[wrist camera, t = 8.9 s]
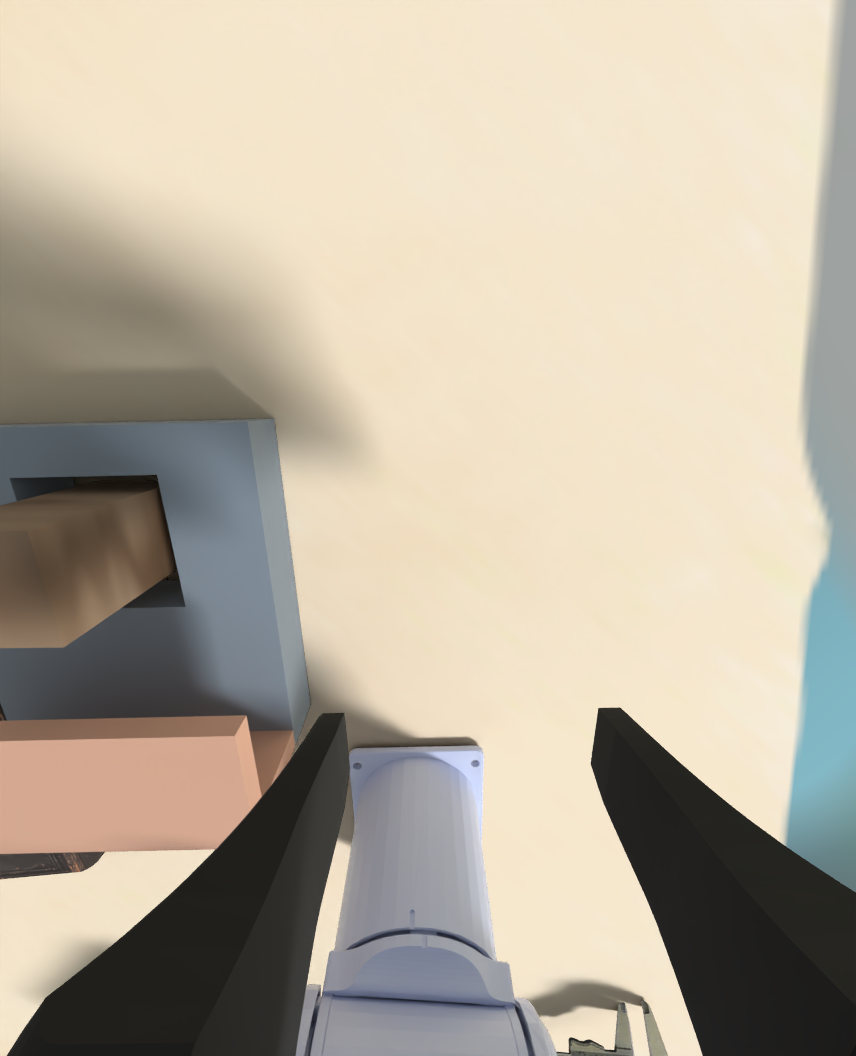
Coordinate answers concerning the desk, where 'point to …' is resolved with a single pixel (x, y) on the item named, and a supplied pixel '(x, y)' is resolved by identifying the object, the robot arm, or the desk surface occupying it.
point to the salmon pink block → (132, 782)
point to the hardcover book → (44, 859)
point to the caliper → (621, 1038)
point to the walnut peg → (78, 559)
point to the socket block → (173, 605)
